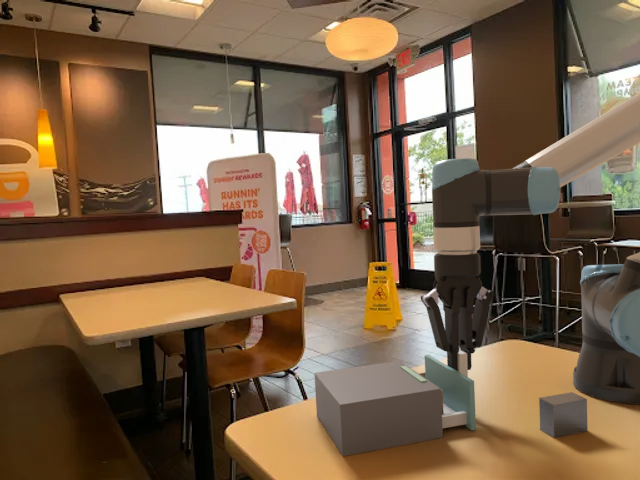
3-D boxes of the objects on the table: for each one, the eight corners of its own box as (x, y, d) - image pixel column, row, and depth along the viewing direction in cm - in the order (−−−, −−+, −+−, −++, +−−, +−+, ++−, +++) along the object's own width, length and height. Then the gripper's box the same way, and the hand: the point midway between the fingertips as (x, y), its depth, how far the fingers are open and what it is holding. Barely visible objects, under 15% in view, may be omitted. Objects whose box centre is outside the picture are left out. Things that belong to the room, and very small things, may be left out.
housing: (401, 401, 89) (399, 359, 88) (442, 437, 74) (440, 387, 74) (316, 415, 85) (314, 371, 84) (342, 456, 70) (339, 403, 70)
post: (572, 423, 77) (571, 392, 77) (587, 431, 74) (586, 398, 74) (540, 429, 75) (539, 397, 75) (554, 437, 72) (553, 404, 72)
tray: (430, 395, 90) (428, 354, 90) (475, 429, 76) (474, 380, 75) (348, 408, 86) (346, 366, 86) (380, 447, 72) (377, 395, 71)
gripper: (478, 248, 87) (481, 377, 89) (411, 252, 84) (415, 386, 86) (504, 251, 80) (506, 391, 82) (431, 256, 77) (435, 402, 79)
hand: (459, 388), depth 84 cm, fingers closed
